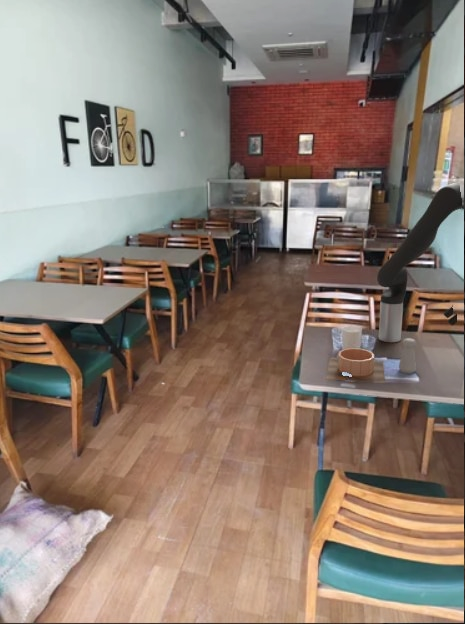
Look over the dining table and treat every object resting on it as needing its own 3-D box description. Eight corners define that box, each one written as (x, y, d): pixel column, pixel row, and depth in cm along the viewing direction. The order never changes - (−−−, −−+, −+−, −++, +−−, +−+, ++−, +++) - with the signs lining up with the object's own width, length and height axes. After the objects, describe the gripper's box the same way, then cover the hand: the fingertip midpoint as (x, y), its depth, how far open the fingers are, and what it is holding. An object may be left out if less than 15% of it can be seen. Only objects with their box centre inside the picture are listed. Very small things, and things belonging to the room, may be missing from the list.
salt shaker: (417, 376, 153) (419, 342, 149) (400, 376, 154) (402, 342, 150) (413, 370, 158) (416, 336, 154) (397, 369, 159) (399, 336, 156)
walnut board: (329, 359, 171) (330, 357, 171) (382, 362, 165) (382, 361, 165) (326, 380, 153) (326, 378, 152) (385, 385, 147) (385, 383, 147)
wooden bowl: (339, 361, 166) (339, 347, 165) (373, 364, 163) (373, 349, 161) (337, 375, 155) (337, 359, 153) (373, 378, 151) (374, 362, 150)
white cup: (342, 355, 175) (343, 332, 172) (340, 348, 182) (340, 326, 180) (362, 355, 174) (363, 332, 171) (359, 348, 181) (360, 325, 178)
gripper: (475, 275, 147) (436, 306, 153) (486, 284, 134) (443, 317, 140) (491, 290, 147) (451, 321, 153) (503, 300, 134) (459, 333, 140)
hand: (447, 319), depth 147 cm, fingers open, 8 cm apart
